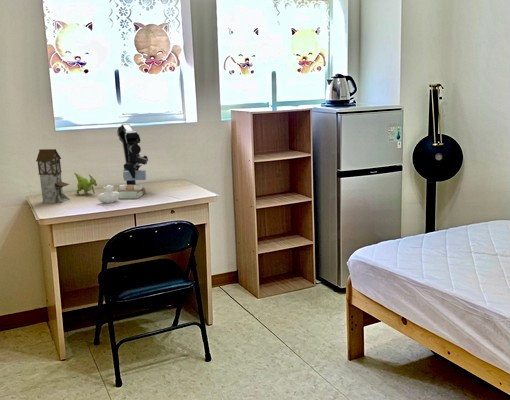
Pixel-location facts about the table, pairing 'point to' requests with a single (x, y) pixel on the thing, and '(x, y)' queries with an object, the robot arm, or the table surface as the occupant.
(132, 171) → the robot arm
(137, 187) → the tile
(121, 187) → the tile
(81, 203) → the table surface
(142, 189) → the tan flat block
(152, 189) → the table surface
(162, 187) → the table surface
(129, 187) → the tile
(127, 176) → the long blue block
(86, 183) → the toy
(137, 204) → the table surface
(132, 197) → the tray
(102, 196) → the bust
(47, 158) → the model building
